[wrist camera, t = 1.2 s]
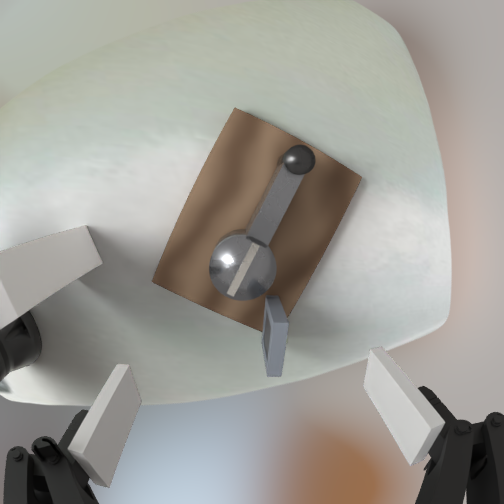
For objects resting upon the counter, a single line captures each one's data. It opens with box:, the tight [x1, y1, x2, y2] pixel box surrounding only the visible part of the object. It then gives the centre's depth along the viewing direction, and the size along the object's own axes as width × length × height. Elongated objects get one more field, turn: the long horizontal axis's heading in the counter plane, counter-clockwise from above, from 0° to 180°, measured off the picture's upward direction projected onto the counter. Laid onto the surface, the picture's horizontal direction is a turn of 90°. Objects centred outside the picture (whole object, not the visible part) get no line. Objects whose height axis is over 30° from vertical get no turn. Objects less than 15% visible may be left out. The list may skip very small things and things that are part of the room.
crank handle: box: [209, 145, 316, 301], centre depth 30 cm, size 18×7×6 cm, turn 153°
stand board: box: [152, 108, 362, 332], centre depth 34 cm, size 18×24×2 cm
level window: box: [262, 295, 289, 377], centre depth 32 cm, size 3×7×8 cm, turn 176°
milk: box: [0, 225, 103, 329], centre depth 24 cm, size 6×6×22 cm
